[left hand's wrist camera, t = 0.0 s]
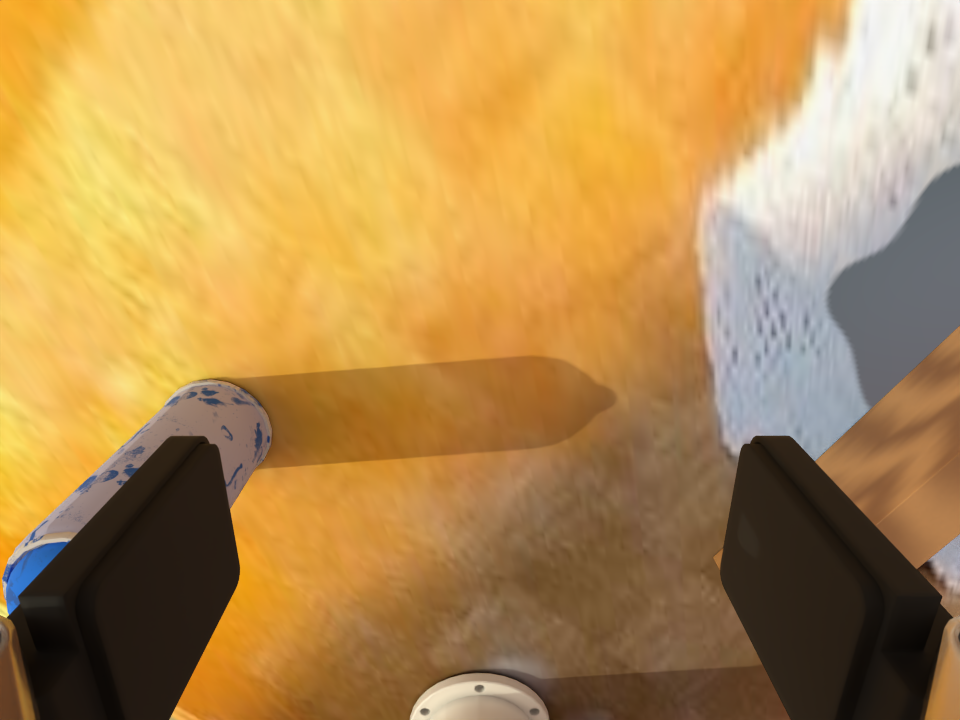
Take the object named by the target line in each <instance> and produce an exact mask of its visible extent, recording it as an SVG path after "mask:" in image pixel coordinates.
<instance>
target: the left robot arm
mask: <svg viewBox="0 0 960 720" xmlns="http://www.w3.org/2000/svg"><path fill="white" fill-rule="evenodd" d="M239 575H240V564H239V558H238V553H237V547H236V541H235V536H234V530H233V524H232V519H231V513H230V507H229V502H228V496H227V490H226V485H225V479H224V473H223V467H222V462H221V456H220V451H219V448H218V446H217V445H216V444H210V443H209V441H208V439H207V438H206V437H205V436H170V437H169V438H167V439H166V440H165V441H164V442H163V443H162V444H161V445H160V446H159V448H158V449H157V450H156V451H155V452H154V453H153V454H152V455H151V456H150V457H149V458H148V459H147V460H146V461H145V462H144V463H143V464H142V466H141V467H140V468H139V469H138V470H137V471H136V472H135V473H134V474H133V475H132V476H131V477H130V478H129V479H128V480H127V481H126V482H125V483H124V485H123V486H122V487H121V488H120V489H119V490H118V491H117V492H116V493H115V494H114V495H113V496H112V497H111V498H110V499H109V500H108V501H107V503H106V504H105V505H104V506H103V507H102V508H101V509H100V510H99V511H98V512H97V513H96V514H95V515H94V516H93V517H92V518H91V519H90V521H89V522H88V523H87V524H86V525H85V526H84V527H83V528H82V529H81V530H80V531H79V532H78V533H77V534H76V535H75V536H74V537H73V538H72V540H71V541H70V542H69V543H68V544H67V545H66V546H65V547H64V548H63V549H62V550H61V551H60V552H59V553H58V554H57V555H56V556H55V558H54V559H53V560H52V561H51V562H50V563H49V564H48V565H47V566H46V567H45V568H44V569H43V570H42V571H41V572H40V573H39V574H38V575H37V577H36V578H35V579H34V580H33V581H32V582H31V583H30V584H29V585H28V586H27V587H26V588H25V589H24V590H23V591H22V592H21V593H20V595H19V596H18V599H19V602H20V604H19V605H18V606H17V607H16V608H15V609H14V611H13V612H12V613H11V614H10V615H9V616H8V617H7V618H5V617H3V616H1V615H0V720H169V719H170V717H171V715H172V713H173V711H174V709H175V707H176V705H177V703H178V701H179V699H180V697H181V695H182V693H183V691H184V689H185V687H186V685H187V684H188V682H189V680H190V678H191V676H192V674H193V672H194V670H195V668H196V666H197V664H198V662H199V660H200V658H201V656H202V654H203V652H204V650H205V648H206V646H207V644H208V642H209V640H210V638H211V636H212V634H213V632H214V630H215V628H216V626H217V624H218V622H219V621H220V619H221V617H222V615H223V613H224V611H225V609H226V607H227V605H228V603H229V601H230V599H231V597H232V595H233V593H234V591H235V589H236V587H237V584H238V581H239ZM720 575H721V581H722V584H723V587H724V589H725V591H726V593H727V595H728V597H729V599H730V601H731V603H732V605H733V607H734V609H735V611H736V613H737V615H738V617H739V619H740V621H741V622H742V624H743V626H744V628H745V630H746V632H747V634H748V636H749V638H750V640H751V642H752V644H753V646H754V648H755V650H756V652H757V654H758V656H759V658H760V660H761V662H762V664H763V666H764V668H765V670H766V672H767V674H768V676H769V678H770V680H771V682H772V684H773V685H774V687H775V689H776V691H777V693H778V695H779V697H780V699H781V701H782V703H783V705H784V707H785V709H786V711H787V713H788V715H789V717H790V719H791V720H960V615H959V616H957V617H955V618H953V617H952V616H951V615H950V614H949V613H948V612H947V611H946V609H945V608H944V607H943V606H942V605H941V604H940V602H941V599H942V596H941V595H940V593H939V592H938V591H937V590H936V589H935V588H934V587H933V586H932V585H931V584H930V583H929V582H928V581H927V580H926V579H925V578H924V577H923V575H922V574H921V573H920V572H919V571H918V570H917V569H916V568H915V567H914V566H913V565H912V564H911V563H910V562H909V561H908V560H907V559H906V558H905V556H904V555H903V554H902V553H901V552H900V551H899V550H898V549H897V548H896V547H895V546H894V545H893V544H892V543H891V542H890V541H889V540H888V538H887V537H886V536H885V535H884V534H883V533H882V532H881V531H880V530H879V529H878V528H877V527H876V526H875V525H874V524H873V523H872V522H871V521H870V519H869V518H868V517H867V516H866V515H865V514H864V513H863V512H862V511H861V510H860V509H859V508H858V507H857V506H856V505H855V504H854V503H853V501H852V500H851V499H850V498H849V497H848V496H847V495H846V494H845V493H844V492H843V491H842V490H841V489H840V488H839V487H838V486H837V485H836V483H835V482H834V481H833V480H832V479H831V478H830V477H829V476H828V475H827V474H826V473H825V472H824V471H823V470H822V469H821V468H820V467H819V466H818V464H817V463H816V462H815V461H814V460H813V459H812V458H811V457H810V456H809V455H808V454H807V453H806V452H805V451H804V450H803V449H802V448H801V446H800V445H799V444H798V443H797V442H796V441H795V440H794V439H793V438H791V437H790V436H755V437H754V438H753V439H752V441H751V443H750V444H744V445H743V446H742V448H741V451H740V456H739V462H738V467H737V473H736V479H735V484H734V490H733V496H732V502H731V507H730V513H729V519H728V524H727V530H726V536H725V541H724V547H723V553H722V558H721V564H720ZM410 720H549V715H548V711H547V709H546V707H545V705H544V703H543V701H542V700H541V699H540V697H539V696H538V695H537V694H536V693H535V692H534V691H533V690H531V689H530V688H529V687H528V686H526V685H524V684H522V683H520V682H518V681H517V680H514V679H511V678H508V677H505V676H501V675H496V674H490V673H471V674H463V675H459V676H455V677H451V678H448V679H446V680H444V681H441V682H439V683H437V684H435V685H434V686H432V687H431V688H429V689H428V690H427V691H426V692H425V693H424V694H423V695H422V696H421V697H420V698H419V699H418V701H417V702H416V704H415V705H414V707H413V710H412V713H411V716H410Z"/></svg>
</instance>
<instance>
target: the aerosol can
mask: <svg viewBox="0 0 960 720" xmlns="http://www.w3.org/2000/svg"><path fill="white" fill-rule="evenodd" d="M170 436H205V437H206V438H207V439H208V441H209V443H210V444H216V445H217V446H218V448H219V451H220V456H221V462H222V467H223V473H224V479H225V485H226V490H227V496H228V502H229V507H230V508H231V507H232V505H233V503H234V502H235V500H236V499H237V497H238V495H239V494H240V492H241V491H242V489H243V487H244V486H245V484H246V483H247V481H248V479H249V478H250V476H251V474H252V473H253V471H254V470H255V468H256V467H257V466H258V465H259V464H260V463H261V462H262V461H263V460H264V459H265V457H266V455H267V452H268V450H269V448H270V446H271V440H272V428H271V424H270V421H269V417H268V415H267V413H266V412H265V410H264V409H263V407H262V406H261V404H260V403H259V401H258V400H256V399H255V398H254V397H253V396H252V395H250V394H249V393H248V392H247V391H246V390H244V389H242V388H240V387H238V386H235V385H233V384H231V383H229V382H224V381H217V380H211V379H210V380H202V381H194V382H192V383H189V384H187V385H185V386H183V387H181V388H179V389H178V390H177V391H176V392H175V393H174V394H173V395H172V396H171V397H170V398H169V399H168V400H167V401H166V403H165V406H164V407H163V408H162V409H161V410H160V411H159V412H158V413H157V414H156V415H155V416H154V417H152V418H151V419H150V420H149V421H148V422H147V423H146V424H145V425H144V426H143V427H142V428H141V429H140V430H139V431H138V432H137V433H136V434H134V435H133V436H132V437H131V438H130V439H129V440H128V441H127V442H126V443H125V444H124V445H123V446H122V447H121V448H120V449H119V450H118V451H117V452H115V453H114V454H113V455H112V456H111V457H110V458H109V459H108V460H107V461H106V462H105V463H104V464H103V465H102V466H101V467H100V468H99V469H98V470H96V471H95V472H94V473H93V474H92V475H91V476H90V477H89V478H88V479H87V480H86V481H85V482H84V483H83V484H82V485H81V486H80V487H78V488H77V489H76V490H75V491H74V492H73V493H72V494H71V495H70V496H69V497H68V498H67V499H66V500H65V501H64V502H63V503H62V504H61V505H59V506H58V507H57V508H56V509H55V510H54V511H53V512H52V513H51V514H50V515H49V516H48V517H47V518H46V519H45V520H44V521H43V522H41V523H40V524H39V525H38V526H37V527H36V528H35V529H34V530H33V531H32V532H31V533H30V534H29V535H28V536H27V537H26V538H25V539H24V540H23V541H22V542H21V543H20V544H19V545H18V546H17V547H16V548H15V551H14V554H13V555H12V556H11V557H10V558H9V560H8V563H7V566H6V569H5V572H4V575H3V578H2V582H3V590H4V598H5V600H6V602H7V609H8V613H9V615H10V614H11V613H12V612H13V611H14V609H15V608H16V607H17V606H18V605H19V604H20V602H19V599H18V596H19V595H20V593H21V592H22V591H23V590H24V589H25V588H26V587H27V586H28V585H29V584H30V583H31V582H32V581H33V580H34V579H35V578H36V577H37V575H38V574H39V573H40V572H41V571H42V570H43V569H44V568H45V567H46V566H47V565H48V564H49V563H50V562H51V561H52V560H53V559H54V558H55V556H56V555H57V554H58V553H59V552H60V551H61V550H62V549H63V548H64V547H65V546H66V545H67V544H68V543H69V542H70V541H71V540H72V538H73V537H74V536H75V535H76V534H77V533H78V532H79V531H80V530H81V529H82V528H83V527H84V526H85V525H86V524H87V523H88V522H89V521H90V519H91V518H92V517H93V516H94V515H95V514H96V513H97V512H98V511H99V510H100V509H101V508H102V507H103V506H104V505H105V504H106V503H107V501H108V500H109V499H110V498H111V497H112V496H113V495H114V494H115V493H116V492H117V491H118V490H119V489H120V488H121V487H122V486H123V485H124V483H125V482H126V481H127V480H128V479H129V478H130V477H131V476H132V475H133V474H134V473H135V472H136V471H137V470H138V469H139V468H140V467H141V466H142V464H143V463H144V462H145V461H146V460H147V459H148V458H149V457H150V456H151V455H152V454H153V453H154V452H155V451H156V450H157V449H158V448H159V446H160V445H161V444H162V443H163V442H164V441H165V440H166V439H167V438H169V437H170Z"/></svg>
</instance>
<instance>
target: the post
mask: <svg viewBox="0 0 960 720" xmlns="http://www.w3.org/2000/svg"><path fill="white" fill-rule="evenodd" d="M815 462H816V463H817V464H818V466H819V467H820V468H821V469H822V470H823V471H824V472H825V473H826V474H827V475H828V476H829V477H830V478H831V479H832V480H833V481H834V482H835V483H836V485H837V486H838V487H839V488H840V489H841V490H842V491H843V492H844V493H845V494H846V495H847V496H848V497H849V498H850V499H851V500H852V501H853V503H854V504H855V505H856V506H857V507H858V508H859V509H860V510H861V511H862V512H863V513H864V514H865V515H866V516H867V517H868V518H869V519H870V521H871V522H872V523H873V524H874V525H875V526H876V527H877V528H878V529H879V530H880V531H881V532H882V533H883V534H884V535H885V536H886V537H887V538H888V540H889V541H890V542H891V543H892V544H893V545H894V546H895V547H896V548H897V549H898V550H899V551H900V552H901V553H902V554H903V555H904V556H905V558H906V559H907V560H908V561H909V562H910V563H911V564H912V565H913V566H914V567H915V568H916V569H917V568H919V567H920V566H921V565H922V564H924V563H925V562H926V561H927V560H928V559H930V558H931V557H932V556H933V555H935V554H936V553H937V552H938V551H939V550H941V549H942V548H943V547H944V546H946V545H947V544H948V543H949V542H950V541H952V540H953V539H954V538H955V537H957V536H958V535H959V534H960V326H959V327H958V328H957V329H956V330H955V331H954V332H953V333H951V334H950V335H949V336H948V337H947V338H946V339H945V340H944V341H943V342H942V343H941V344H940V345H939V346H938V347H937V348H935V349H934V350H933V351H932V352H931V353H930V354H929V355H928V356H927V357H926V358H925V359H924V360H923V361H922V362H921V363H919V364H918V365H917V366H916V367H915V368H914V369H913V370H912V371H911V372H910V373H909V374H908V375H907V376H906V377H905V378H904V379H902V380H901V381H900V382H899V383H898V384H897V385H896V386H895V387H894V388H893V389H892V390H891V391H890V392H889V393H888V394H887V395H885V396H884V397H883V398H882V399H881V400H880V401H879V402H878V403H877V404H876V405H875V406H874V407H873V408H872V409H870V410H869V411H868V412H867V413H866V414H865V415H864V416H863V417H862V418H861V419H860V420H859V421H858V422H857V423H856V424H854V425H853V426H852V427H851V428H850V429H849V430H848V431H847V432H846V433H845V434H844V435H843V436H842V437H841V438H840V439H839V440H837V441H836V442H835V443H834V444H833V445H832V446H831V447H830V448H829V449H828V450H827V451H826V452H825V453H824V454H823V455H821V456H820V457H819V458H818V459H817V460H816V461H815ZM722 553H723V548H722V549H721V550H720V551H719V552H718V553H717V554H716V555H715V556H714V557H713V558H714V560H715V562H716V564H717V566H718V567H719V569H720V564H721V558H722Z"/></svg>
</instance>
